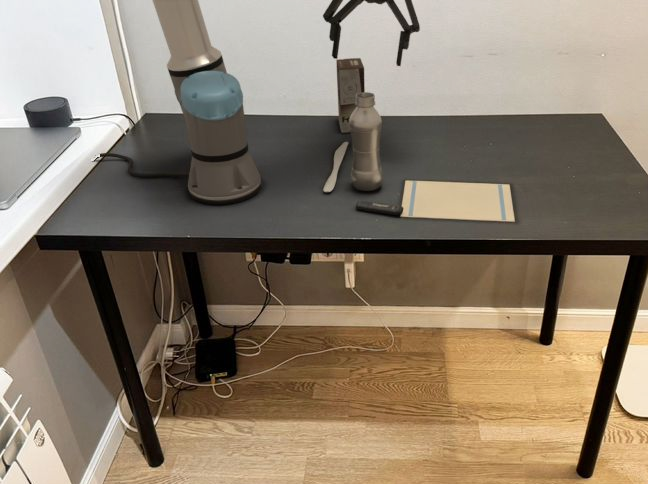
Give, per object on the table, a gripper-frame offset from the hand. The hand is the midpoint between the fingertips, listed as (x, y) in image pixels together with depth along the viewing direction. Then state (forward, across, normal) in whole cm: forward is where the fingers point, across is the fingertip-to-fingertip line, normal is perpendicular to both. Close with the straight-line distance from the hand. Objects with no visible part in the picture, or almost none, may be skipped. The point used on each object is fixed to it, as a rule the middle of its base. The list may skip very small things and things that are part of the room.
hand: (366, 61), depth 136 cm
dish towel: (+26, +23, -4) cm, 35 cm away
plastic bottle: (+26, +4, -1) cm, 27 cm away
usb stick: (+31, +8, -10) cm, 33 cm away
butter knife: (+22, -5, +8) cm, 24 cm away
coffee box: (+11, -6, +30) cm, 33 cm away
